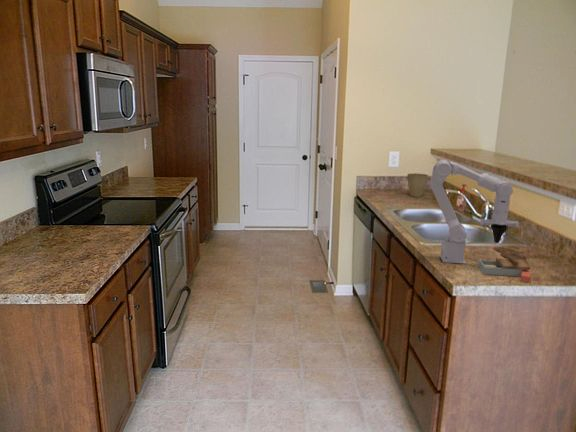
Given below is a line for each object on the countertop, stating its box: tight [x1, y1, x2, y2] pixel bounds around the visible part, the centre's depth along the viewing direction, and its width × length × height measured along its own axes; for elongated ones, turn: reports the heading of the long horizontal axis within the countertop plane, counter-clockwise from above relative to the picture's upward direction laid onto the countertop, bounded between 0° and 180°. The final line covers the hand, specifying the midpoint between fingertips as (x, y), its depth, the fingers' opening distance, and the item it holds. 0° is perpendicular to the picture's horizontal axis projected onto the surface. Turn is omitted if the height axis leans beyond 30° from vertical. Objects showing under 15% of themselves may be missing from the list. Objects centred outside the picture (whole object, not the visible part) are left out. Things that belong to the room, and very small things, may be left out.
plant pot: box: [406, 172, 430, 198], centre depth 333 cm, size 15×15×16 cm
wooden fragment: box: [492, 245, 530, 266], centre depth 205 cm, size 26×11×1 cm, turn 177°
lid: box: [495, 256, 531, 270], centre depth 183 cm, size 10×9×2 cm
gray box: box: [477, 259, 522, 278], centre depth 184 cm, size 14×9×3 cm, turn 83°
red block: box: [520, 269, 532, 284], centre depth 178 cm, size 3×9×3 cm, turn 150°
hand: (496, 242), depth 190 cm, fingers closed
